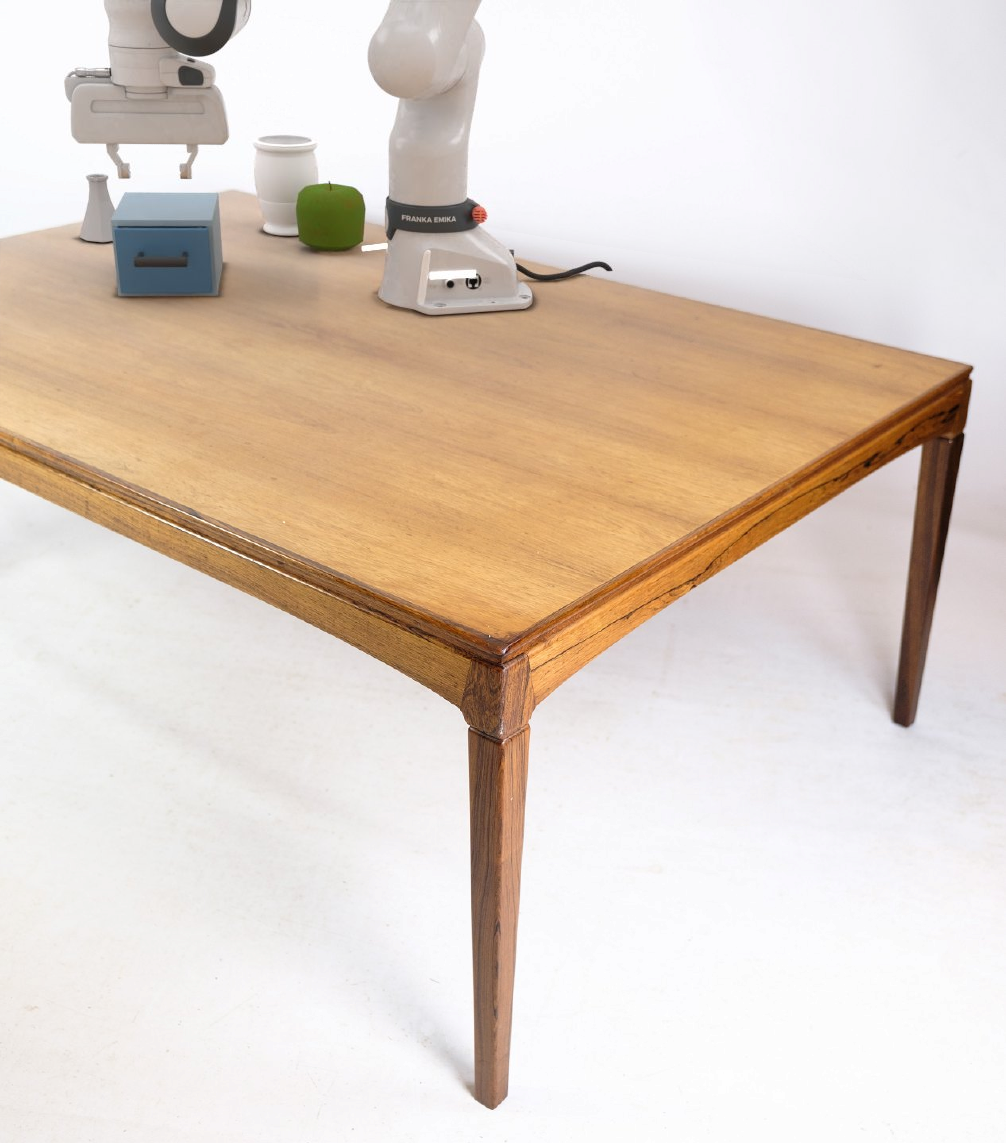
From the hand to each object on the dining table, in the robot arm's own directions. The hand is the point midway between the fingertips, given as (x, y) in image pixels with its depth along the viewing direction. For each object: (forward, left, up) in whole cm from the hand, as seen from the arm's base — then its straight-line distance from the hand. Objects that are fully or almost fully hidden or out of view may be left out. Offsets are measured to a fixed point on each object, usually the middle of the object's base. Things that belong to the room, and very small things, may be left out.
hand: (155, 178), depth 174 cm
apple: (-24, -30, -17) cm, 42 cm away
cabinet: (0, -12, -17) cm, 21 cm away
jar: (-17, -42, -17) cm, 49 cm away
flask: (+13, -37, -17) cm, 43 cm away
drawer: (0, -7, -16) cm, 18 cm away
